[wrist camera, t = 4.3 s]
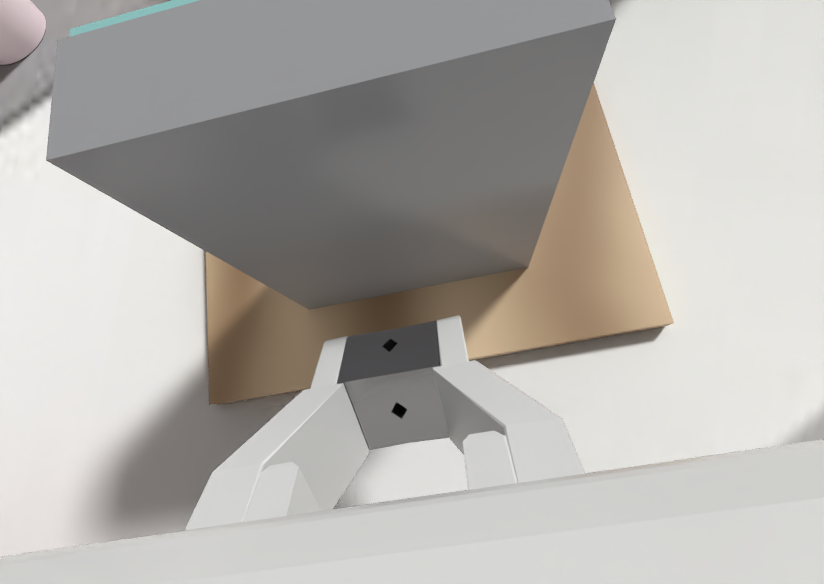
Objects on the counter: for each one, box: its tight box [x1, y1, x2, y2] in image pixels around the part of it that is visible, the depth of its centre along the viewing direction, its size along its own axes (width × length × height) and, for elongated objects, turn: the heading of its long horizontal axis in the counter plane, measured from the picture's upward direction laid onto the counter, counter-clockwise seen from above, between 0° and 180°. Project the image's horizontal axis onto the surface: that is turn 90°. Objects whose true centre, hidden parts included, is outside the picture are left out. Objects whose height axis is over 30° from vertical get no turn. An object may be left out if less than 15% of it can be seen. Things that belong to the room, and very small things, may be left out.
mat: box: [206, 83, 674, 404], centre depth 17 cm, size 16×18×1 cm
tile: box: [46, 0, 616, 310], centre depth 11 cm, size 8×2×10 cm, turn 99°
